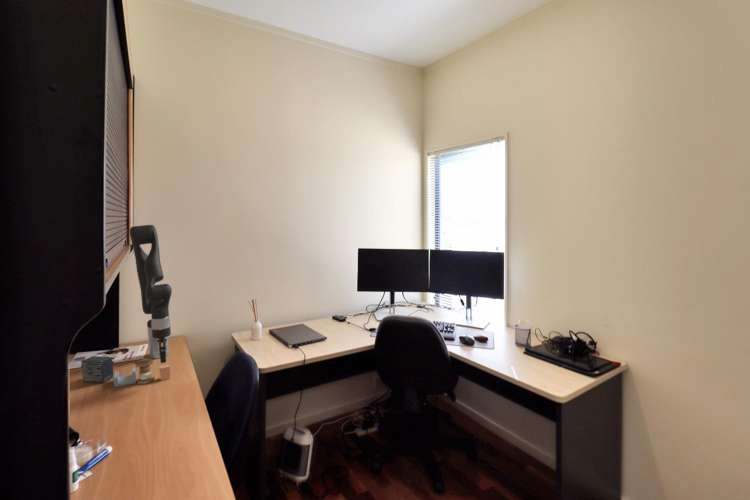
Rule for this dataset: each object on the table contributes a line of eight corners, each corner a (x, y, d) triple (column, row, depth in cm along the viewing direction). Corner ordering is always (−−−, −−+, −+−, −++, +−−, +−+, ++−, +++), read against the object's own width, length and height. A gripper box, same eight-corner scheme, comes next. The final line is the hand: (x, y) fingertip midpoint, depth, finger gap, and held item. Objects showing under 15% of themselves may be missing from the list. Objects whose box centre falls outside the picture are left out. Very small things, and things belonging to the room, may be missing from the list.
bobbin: (137, 379, 171) (135, 360, 169) (154, 375, 174) (153, 357, 173) (136, 385, 165) (135, 366, 163) (154, 381, 168) (153, 362, 167)
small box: (114, 376, 173) (112, 356, 172) (103, 383, 167) (101, 362, 165) (94, 375, 174) (92, 355, 173) (82, 382, 168) (80, 361, 166)
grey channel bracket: (115, 380, 170) (114, 371, 169) (136, 375, 174) (136, 367, 174) (114, 387, 163) (113, 378, 163) (136, 382, 167) (135, 373, 167)
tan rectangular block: (160, 378, 172) (159, 366, 171) (170, 376, 174) (169, 364, 173) (160, 380, 170) (159, 368, 169) (170, 378, 172) (169, 366, 171)
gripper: (151, 323, 173) (154, 355, 174) (151, 332, 161) (153, 366, 162) (169, 321, 176) (171, 352, 178) (170, 329, 164) (172, 363, 166)
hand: (163, 359), depth 170 cm, fingers open, 8 cm apart
